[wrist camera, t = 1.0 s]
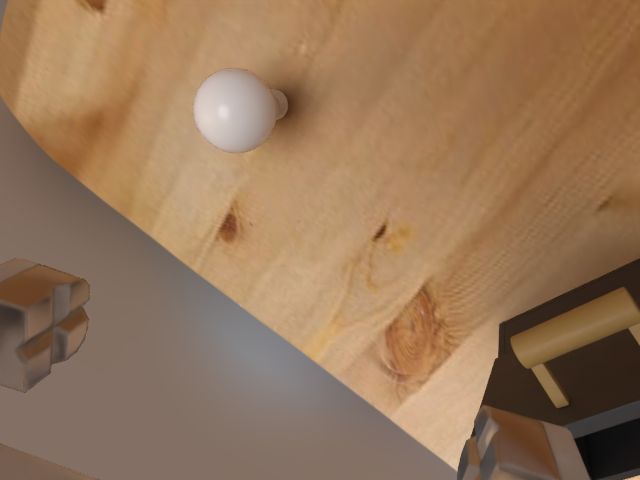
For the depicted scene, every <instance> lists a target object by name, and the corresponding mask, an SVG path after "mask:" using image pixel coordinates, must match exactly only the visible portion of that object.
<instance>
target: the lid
mask: <svg viewBox="0 0 640 480" xmlns="http://www.w3.org/2000/svg"><path fill="white" fill-rule="evenodd" d="M510 341H511V345H512V348H513V351H512V352H510V353H508V354H506V355H503V356H501V357H499V358H496V359H495V361H494V365H493V368H492V371H491V374H490V377H489V381H488V384H487V387H486V390H485V393H484V396H483V400H482V403H481V406H480V409H481V407H482V406H483V405H487V406H490V407H494V408H497V409H501V410H504V411H508V412H511V413H515V414H518V415H521V416H525V417H528V418H532V419H535V420H540V421H544V422H547V423H551V424H554V425H558V426H562V427H565V428H567V429H568V430H569V431H570V432H571V433H572V436H573V438H574V439H576V438H579V437H582V436H585V435H588V434H591V433H594V432H597V431H600V430H603V429H607V428H610V427H613V426H616V425H619V424H622V423H625V422H628V421H631V420H634V419H637V418H640V296H639V297H637V298H634V299H633V298H632V296H631V295H630V294H629V292H628V291H627V289H626V288H625V287H621V288H619V289H617V290H615V291H612V292H610V293H608V294H606V295H604V296H601V297H599V298H597V299H595V300H592V301H590V302H588V303H586V304H584V305H581V306H579V307H577V308H575V309H572V310H570V311H568V312H566V313H564V314H561V315H559V316H557V317H555V318H552V319H550V320H548V321H546V322H544V323H541V324H539V325H537V326H535V327H532V328H530V329H528V330H526V331H524V332H521V333H519V334H517V335H515V336H512V337H511V339H510ZM480 409H479V410H480ZM475 435H476V433H475V425H474V428H473V432H472V435H471V438H472V437H473V436H475Z"/></svg>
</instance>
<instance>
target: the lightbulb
mask: <svg viewBox="0 0 640 480" xmlns="http://www.w3.org/2000/svg"><path fill="white" fill-rule="evenodd" d="M287 109H288V101H287V98H286V96H285V95H284V94H283V93H282V92H281V91H279V90H277V89H270V88H269V87H268V85H267V84H266V83H265V82H264V81H263V80H262V79H261V78H260V77H259V76H257V75H256V74H254V73H252V72H250V71H248V70H244V69H240V68H226V69H222V70H219V71H216V72H214V73H212V74H211V75H209V76H208V77H207V78H206V79H205V80H204V81H203V82H202V83H201V84H200V86H199V88H198V89H197V91H196V94H195V97H194V101H193V116H194V121H195V124H196V126H197V128H198V130H199V132H200V134H201V135H202V136H203V138H204V139H205V140H206V141H207V142H208V143H210V144H211V145H212V146H214V147H215V148H217V149H219V150H222V151H225V152H229V153H244V152H248V151H251V150H254V149H256V148H257V147H259V146H260V145H262V144H263V143H264V142H265V141H266V140H267V139H268V137H269V136H270V134H271V133H272V131H273V129H274V126H275V123H276V120H278V119H281V118H282V117H283V116H284V115H285V114H286V112H287Z"/></svg>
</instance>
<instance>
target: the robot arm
mask: <svg viewBox="0 0 640 480" xmlns="http://www.w3.org/2000/svg"><path fill="white" fill-rule="evenodd" d="M89 299H90V285H89V283H88V282H87V281H86V280H85V279H83V278H80V277H77V276H74V275H71V274H68V273H65V272H62V271H59V270H56V269H53V268H50V267H47V266H44V265H41V264H38V263H35V262H32V261H29V260H25V259H18V258H14V259H12V260H9V261H7V262H5V263H2V264H0V385H1V386H5V387H8V388H11V389H14V390H17V391H20V392H24V393H26V392H27V391H28V390H29V389H31V388H32V387H33V386H35V385H36V384H37V383H38V382H40V381H41V380H42V379H44V378H45V377H46V376H47V375H49V374H50V373H51V365H52V364H55V363H58V362H62V361H66V360H68V359H69V358H70V357H71V356H72V355H74V354H75V353H76V352H77V351H78V349H79V348H80V346H81V345H82V343H83V342H84V340H85V337H86V334H87V331H88V321H89V318H88V316H87V314H86V312H85V310H84V308H83V306H84V305H85V304H86V303H87V302H88V301H89ZM474 424H475V433H476V435H475V436H473V437H472V438H470V439H468V440H466V443H465V446H464V448H463V451H462V454H461V458H460V462H459V467H458V475H457V480H590V478H589V475H588V473H587V470H586V468H585V465H584V463H583V460H582V458H581V455H580V453H579V450H578V448H577V445H576V443H575V440H574V438H573V436H572V433H571V432H570V431H569V430H568V429H567V428H565V427H562V426H558V425H554V424H551V423H547V422H544V421H540V420H535V419H532V418H528V417H525V416H521V415H518V414H515V413H511V412H508V411H504V410H501V409H497V408H494V407H490V406H487V405H483V406H482V407H481V409H480V410H479V412H478V414H477V416H476V419H475V421H474ZM0 480H99V479H96V478H93V477H90V476H88V475H85V474H82V473H79V472H77V471H74V470H71V469H69V468H66V467H63V466H60V465H58V464H55V463H52V462H49V461H47V460H44V459H41V458H39V457H36V456H33V455H30V454H28V453H25V452H22V451H20V450H17V449H14V448H11V447H8V446H6V445H3V444H0Z"/></svg>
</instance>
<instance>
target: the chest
mask: <svg viewBox="0 0 640 480" xmlns="http://www.w3.org/2000/svg"><path fill="white" fill-rule="evenodd" d="M621 287H625V288H626V289H627V291H628V292H629V294H630V295H631V296H632V298H633V299H634V298H637V297H639V296H640V259H638V260H635V261H633V262H631V263H629V264H627V265H625V266H623V267H621V268H618V269H616V270H614V271H612V272H610V273H608V274H606V275H604V276H601V277H599V278H597V279H595V280H593V281H591V282H589V283H586V284H584V285H582V286H580V287H578V288H576V289H574V290H572V291H569V292H567V293H565V294H563V295H561V296H559V297H557V298H554V299H552V300H550V301H548V302H546V303H544V304H542V305H540V306H537V307H535V308H533V309H531V310H529V311H527V312H525V313H522V314H520V315H518V316H516V317H514V318H512V319H510V320H508V321H505V322H503V323H501V324H499V350H498V358H499V357H501V356H503V355H506V354H508V353H510V352H512V351H513V348H512V345H511V341H510V339H511V337H512V336H515V335H517V334H519V333H521V332H524V331H526V330H528V329H530V328H532V327H535V326H537V325H539V324H541V323H544V322H546V321H548V320H550V319H552V318H555V317H557V316H559V315H561V314H564V313H566V312H568V311H570V310H572V309H575V308H577V307H579V306H581V305H584V304H586V303H588V302H590V301H592V300H595V299H597V298H599V297H601V296H604V295H606V294H608V293H610V292H612V291H615V290H617V289H619V288H621ZM574 440H575V443H576V445H577V448H578V450H579V453H580V455H581V458H582V460H583V463H584V465H585V468H586V470H587V473H588V475H589V478H590V480H624V479H627V478H631V477H635V476H638V475H640V418H637V419H634V420H631V421H628V422H625V423H622V424H619V425H616V426H613V427H610V428H607V429H603V430H600V431H597V432H594V433H591V434H588V435H585V436H582V437H579V438H576V439H574Z"/></svg>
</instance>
